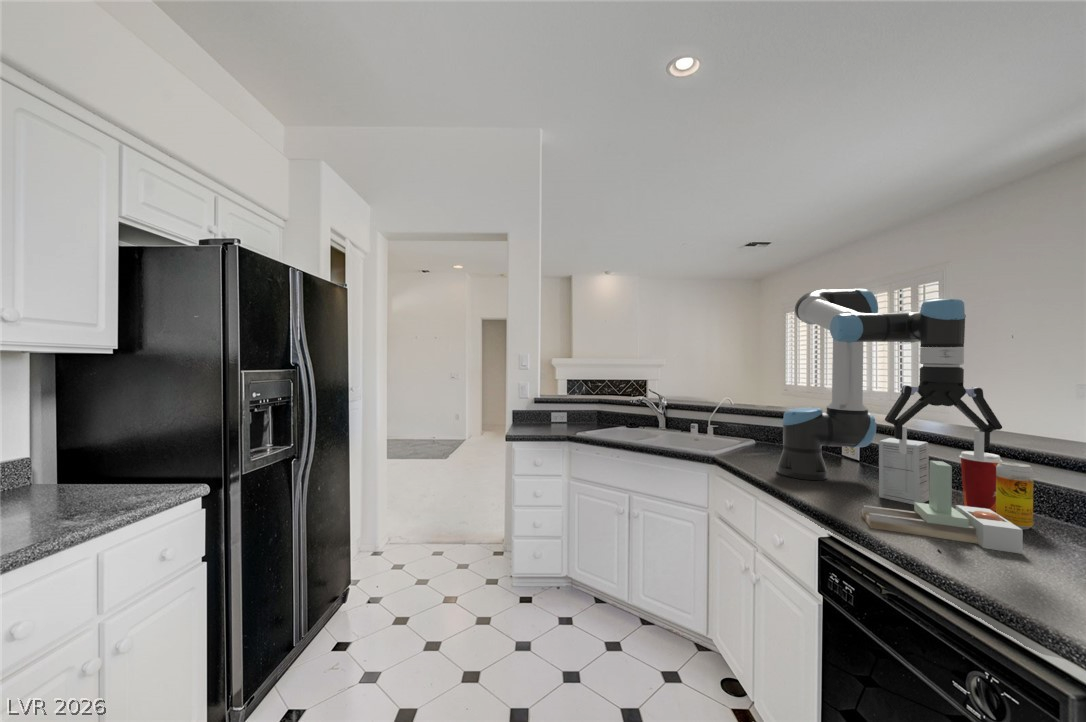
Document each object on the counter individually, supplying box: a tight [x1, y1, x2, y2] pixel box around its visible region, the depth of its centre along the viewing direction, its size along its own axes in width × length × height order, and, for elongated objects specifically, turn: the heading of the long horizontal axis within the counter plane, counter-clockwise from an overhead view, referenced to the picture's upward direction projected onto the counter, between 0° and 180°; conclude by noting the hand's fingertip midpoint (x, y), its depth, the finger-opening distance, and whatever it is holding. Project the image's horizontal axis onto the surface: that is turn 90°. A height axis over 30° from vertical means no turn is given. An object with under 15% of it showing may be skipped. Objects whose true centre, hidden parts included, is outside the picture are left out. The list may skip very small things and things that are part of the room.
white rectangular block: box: [955, 504, 1024, 554], centre depth 96 cm, size 14×6×5 cm, turn 154°
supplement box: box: [878, 437, 930, 506], centre depth 124 cm, size 10×9×17 cm
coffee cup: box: [959, 450, 1004, 513], centre depth 116 cm, size 8×8×15 cm
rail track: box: [861, 504, 979, 545], centre depth 101 cm, size 9×19×3 cm, turn 64°
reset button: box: [974, 511, 1000, 521], centre depth 96 cm, size 4×4×4 cm
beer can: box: [995, 461, 1034, 530], centre depth 104 cm, size 6×6×15 cm
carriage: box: [913, 460, 969, 528], centre depth 99 cm, size 9×7×13 cm
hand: (939, 456), depth 100 cm, fingers open, 13 cm apart
